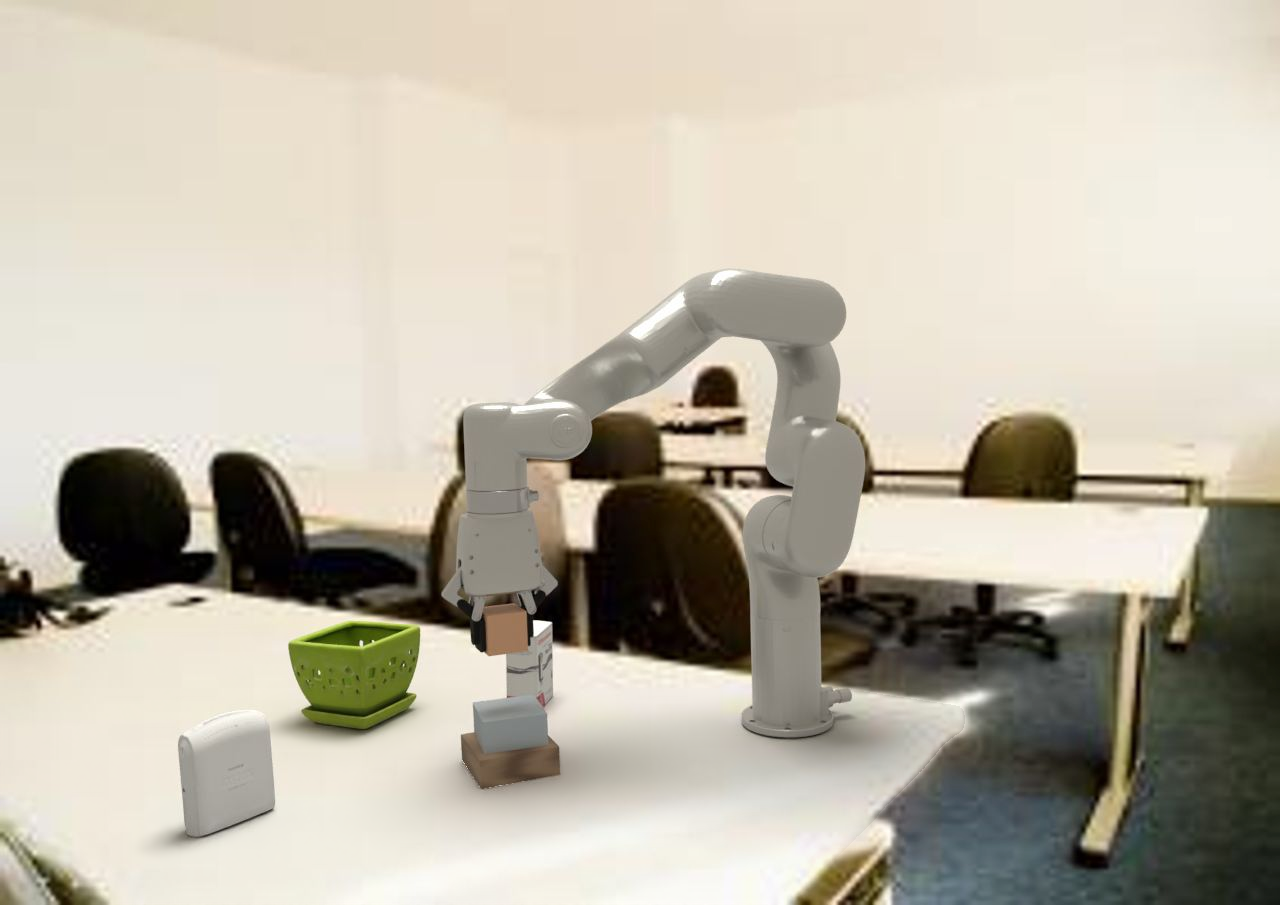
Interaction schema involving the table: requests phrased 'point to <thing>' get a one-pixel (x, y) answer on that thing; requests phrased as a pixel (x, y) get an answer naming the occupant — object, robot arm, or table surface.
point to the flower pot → (356, 672)
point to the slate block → (510, 724)
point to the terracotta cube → (505, 629)
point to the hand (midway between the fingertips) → (502, 645)
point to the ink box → (532, 666)
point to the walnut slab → (509, 762)
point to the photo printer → (226, 771)
